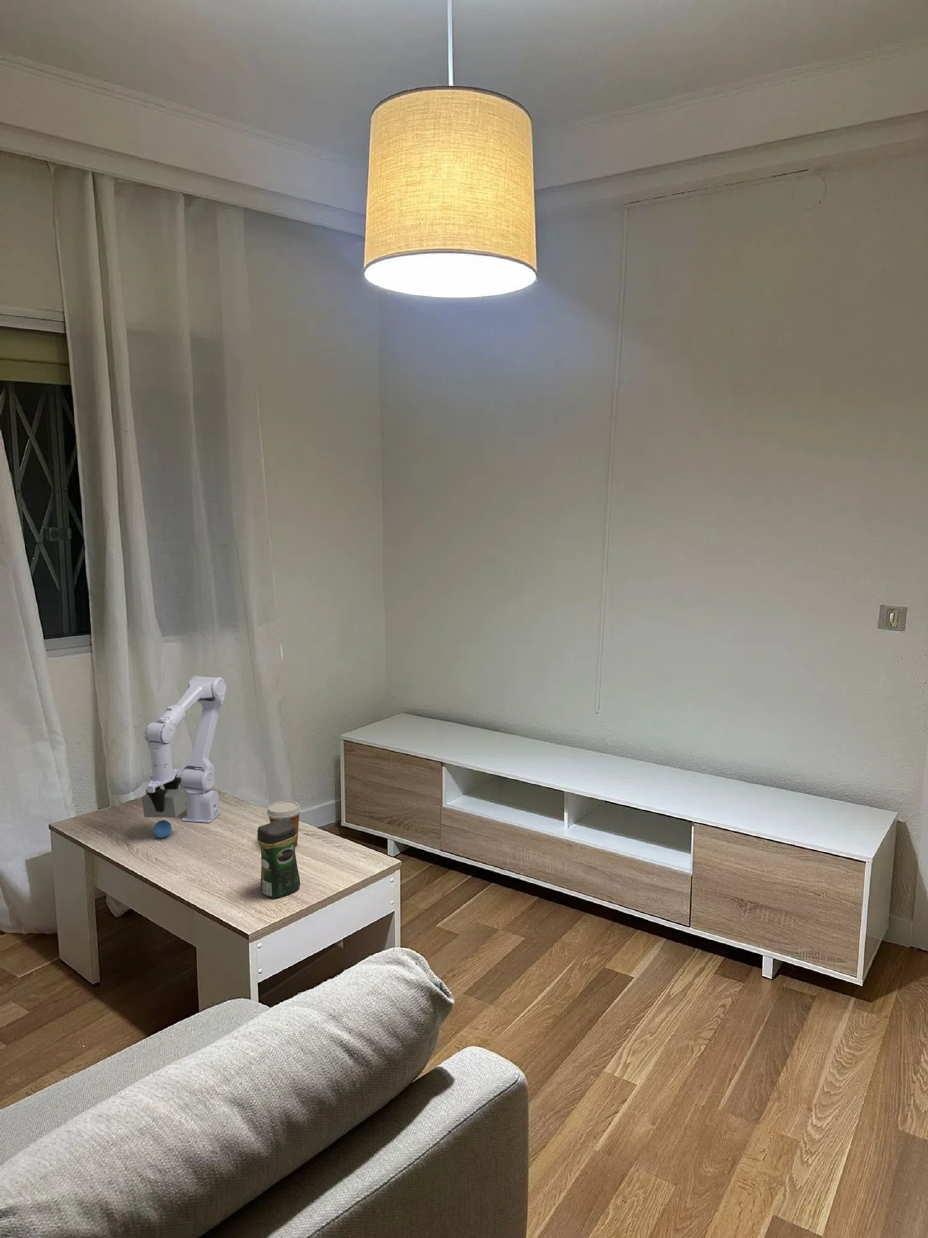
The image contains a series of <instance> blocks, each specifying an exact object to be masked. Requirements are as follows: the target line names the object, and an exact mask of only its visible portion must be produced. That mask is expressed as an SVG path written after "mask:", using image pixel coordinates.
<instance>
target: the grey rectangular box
mask: <svg viewBox="0 0 928 1238" xmlns="http://www.w3.org/2000/svg"><path fill="white" fill-rule="evenodd" d="M163 789H164V790H167V791H166V794H165V798H164V811H163V812H156V810H155V807H154V805H153V802H152V800H151V799H150V797H149V796H148V795H147V793H146V794H144V795H142V796H141V803H142V808H143V817H144V818H177V817H178V816H179V815H181V814H182V813H184V812H185V811H187V807H186V798H185V794H184V793H185V791H183V788H182V789H179V788H178V789H165V788H163Z"/></svg>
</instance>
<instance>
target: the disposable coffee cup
mask: <svg viewBox="0 0 928 1238" xmlns="http://www.w3.org/2000/svg"><path fill="white" fill-rule="evenodd" d="M301 811H302V808H301V807H300V804H299V803H298V802H297V801H293V800H282V801H281V800H280V801H276V802H273V803H271V804H270V805H268V808H267V810H266V815H267V817H268V818H269V819H268V820H269V823H272V822H275V821H278V820H281V819H283V818H287V819H289V820H291V821H292V822H293V823H294V825H295V829H296V840H295V848H297V846H298V839H299V838H298V837H299V825H300V823H299V822H300V814H301Z"/></svg>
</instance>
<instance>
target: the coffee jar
mask: <svg viewBox="0 0 928 1238" xmlns="http://www.w3.org/2000/svg"><path fill="white" fill-rule="evenodd" d="M256 837H257V843H258V846H259V847H260V855H261V858H260V859H261V860H260V861H261V862H260V863H261V868H260V870H261V871H260V891H261V892H262V893H263V894H264V896H266V897H268V898H273V899H277V898H280V897H285V896H286V895H288V894H291V893H293V892H296V891H297V890H299V888H300V887H301V880H300V878H301V877H300V875H299V874H300V873H299V867H298V862H297V856H296V847H295V840H296V829H295V825H294V823H293V822H292V821H291V820H289V819H287V818H283V819H281V820H278V821H275V822H272V823H270V822H269V823H266V824H264V825H260V826H258V827H257V836H256Z"/></svg>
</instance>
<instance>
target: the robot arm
mask: <svg viewBox="0 0 928 1238" xmlns="http://www.w3.org/2000/svg"><path fill="white" fill-rule="evenodd" d="M226 691H227V685H226V683H225V680H224V678H222V677H220V676H218V677H215V676H213V677H212V676H202V675H201V676H200V675H193V676H192V678H191V679H190V680H189V681H188V682H187V689H186V691H185V693H183V695H182V697H180V698H179V700H178V702H177V703H176V704H172V705H169V706H168V707H167V708H166V709H165V711H164V712H163V713H162V714H161V715H160V716H159V718H157V719H156V721H154V722H153V721H151V723H149V724H148V725H147V726H146V727H145V729H144V731H145V732H144V734H143V736H144V739H145V741H146V743H147V747H148V748H149V749H150V751H149V752H150V760H151V761H150V763H151V771H152V772H151V773H152V774H151V776H149V780H150V782H149V783H148V784H147V785H146V789H145V793H146V794H147V795H148V796H149V797H150V799H151V800H152V802H153V805H154V807H155V810H156V812H163V811H164V798H165V794H166V791H167V790H164V789H179V787H180V788H182V789H183V791H184V793H185V794H184V796H185V806H186V815H185V816H184V817H182V819H181V822H191V823H192V822H194V823H204V824H205V823H206V824H207V823H211V822H213V820H215V819H216V818H217V817H219V816H220V815H221V814H222V811H221V809H220V806H221V805H220V796H219V792H218V791H217V790H213V789H212V788H213V786H214V784H215V781H216V777H215V771H216V767H215V766H214V764H213V763H212V762H211V761H210V757H211V753H212V748H213V745H214V739H215V735H216V731H217V726H218V724H219V723H218V721H219V717H220V714H221V713H220V712H221V708H222V706H223V704H224V701H225V696H226V693H227V692H226ZM195 703H198V704H199V705H201V707H202V711H201V715H200V719H199V725H198V729H197V733H196V737H195V742H194V745H193V750H192V755H191V756H190V758H189V759H187V760H185V761H184V762H183V764H182V768H181V770H180V769H179V768H173V756H172V755H173V753H172V741H173V740H174V737H175V734H176V731H177V728H178V727H179V726H180V725H181V724H182V723H183V722H184V720H185V719H186V718H187V717H186V712H187V711H188V710H189V709H191V707H192V706H194V704H195ZM162 786H163V789H162Z"/></svg>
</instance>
